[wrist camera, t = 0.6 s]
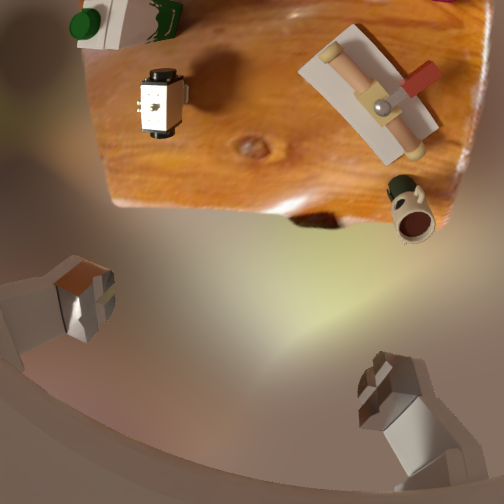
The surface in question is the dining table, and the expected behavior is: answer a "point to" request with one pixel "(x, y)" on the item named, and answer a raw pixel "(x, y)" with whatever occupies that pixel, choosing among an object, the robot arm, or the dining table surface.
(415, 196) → the character mug
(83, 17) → the milk carton
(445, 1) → the pepper mill
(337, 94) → the board
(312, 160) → the dining table surface
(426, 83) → the lever
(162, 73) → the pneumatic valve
